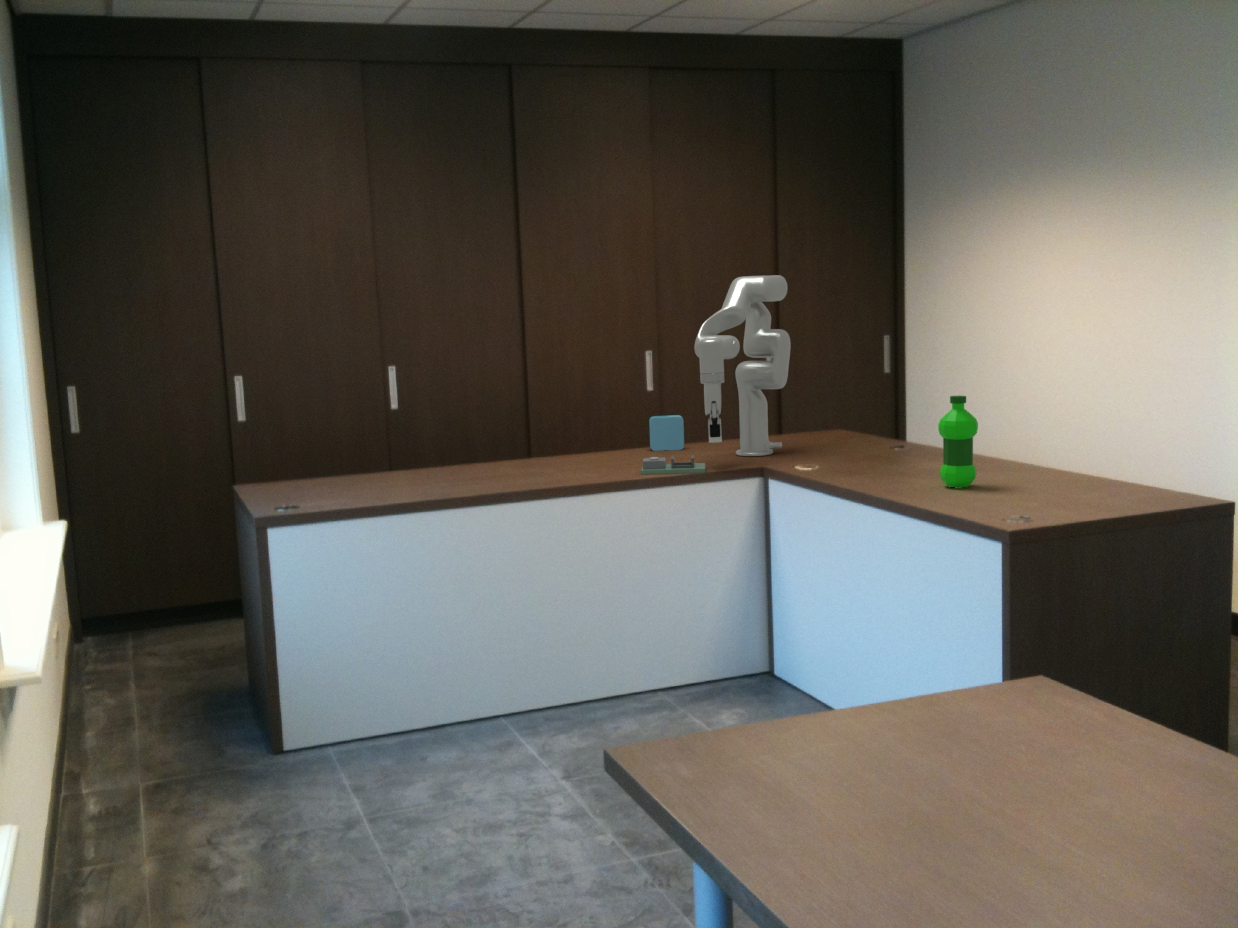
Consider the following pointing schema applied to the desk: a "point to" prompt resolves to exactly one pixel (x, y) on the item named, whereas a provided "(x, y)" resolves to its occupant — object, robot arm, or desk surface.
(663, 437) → the blue rounded square block
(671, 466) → the board
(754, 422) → the robot arm
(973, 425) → the plastic bottle
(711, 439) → the plug
